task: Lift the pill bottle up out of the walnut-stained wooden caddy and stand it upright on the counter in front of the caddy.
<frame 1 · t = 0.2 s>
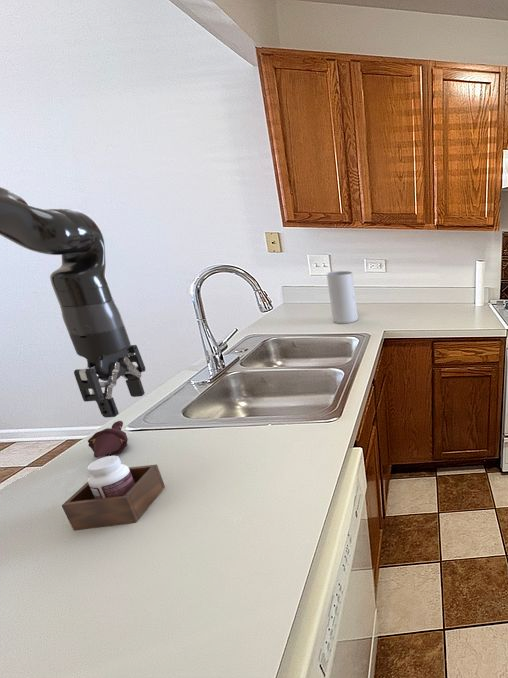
hand: (125, 405, 78), 21 cm above the table, tool pointing down, fingers open, 8 cm apart
caddy: (122, 507, 81), on the table
pill bottle: (122, 507, 81), resting in caddy
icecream: (114, 453, 99), on the table
cylinder vase: (345, 320, 210), on the table
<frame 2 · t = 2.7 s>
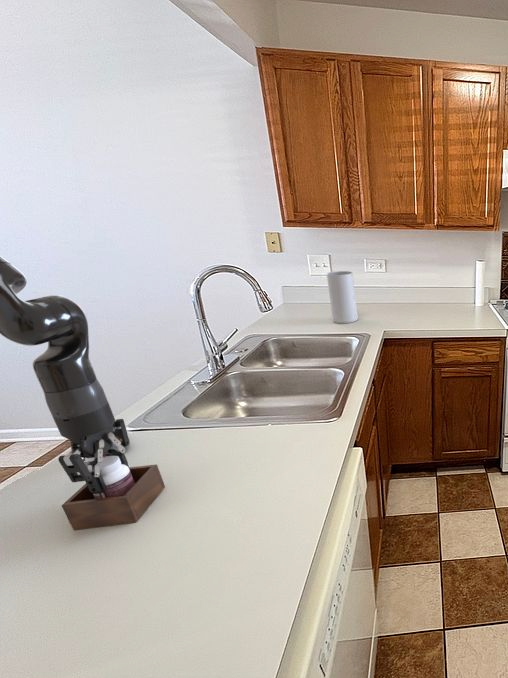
hand: (111, 480, 79), 7 cm above the table, tool pointing down, fingers closed on pill bottle, 6 cm apart
pill bottle: (122, 507, 81), resting in caddy, touching gripper
everything else where it was.
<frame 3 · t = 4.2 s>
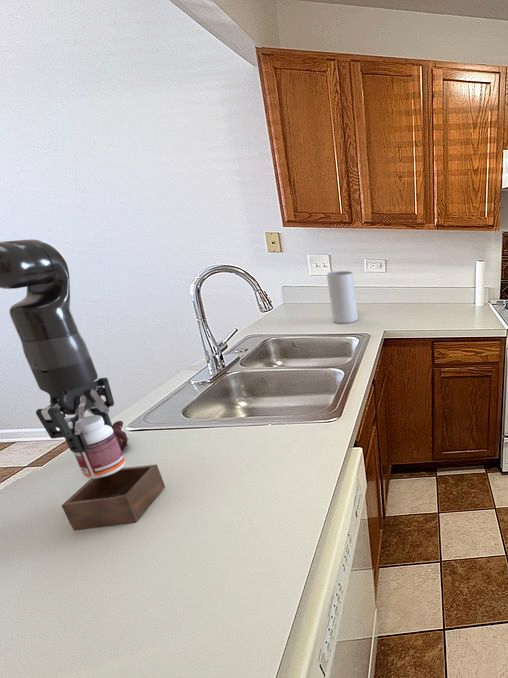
hand: (93, 440, 75), 16 cm above the table, tool pointing down, fingers closed on pill bottle, 6 cm apart
pill bottle: (106, 470, 78), point 9 cm above the table, touching gripper
everything else where it was.
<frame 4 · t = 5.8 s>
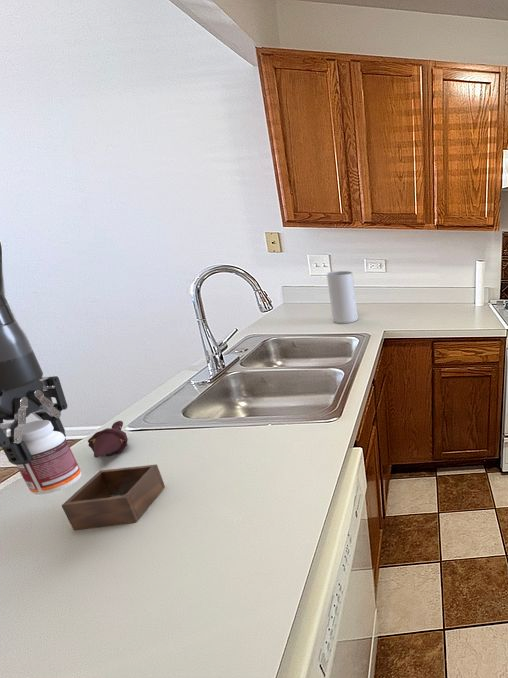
hand: (41, 450, 64), 21 cm above the table, tool pointing down, fingers closed on pill bottle, 6 cm apart
pill bottle: (57, 484, 67), point 14 cm above the table, touching gripper
everything else where it was.
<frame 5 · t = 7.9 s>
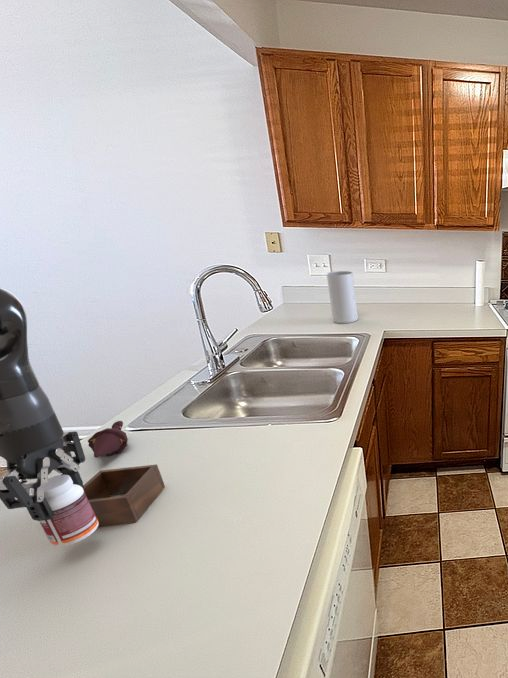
hand: (61, 504, 67), 10 cm above the table, tool pointing down, fingers closed on pill bottle, 6 cm apart
pill bottle: (76, 534, 70), point 4 cm above the table, touching gripper
everything else where it was.
when the fingers open (7 cm above the table, at t = 9.4 s): pill bottle stays where it is, on the table.
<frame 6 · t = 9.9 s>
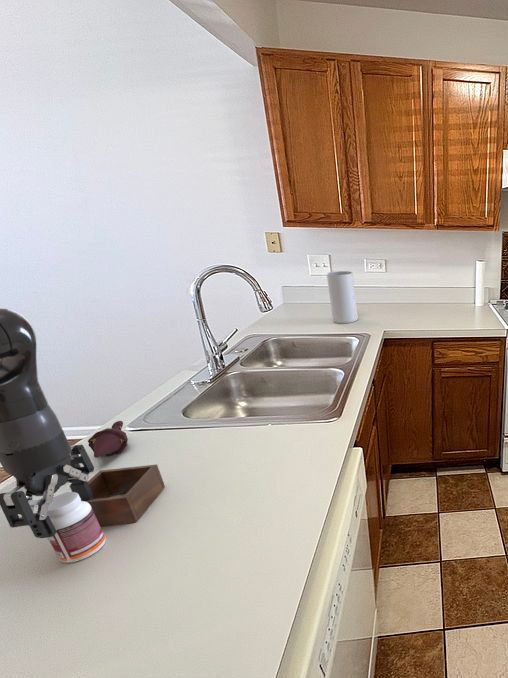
hand: (67, 517, 68), 8 cm above the table, tool pointing down, fingers open, 8 cm apart
pill bottle: (84, 550, 71), on the table
everything else where it was.
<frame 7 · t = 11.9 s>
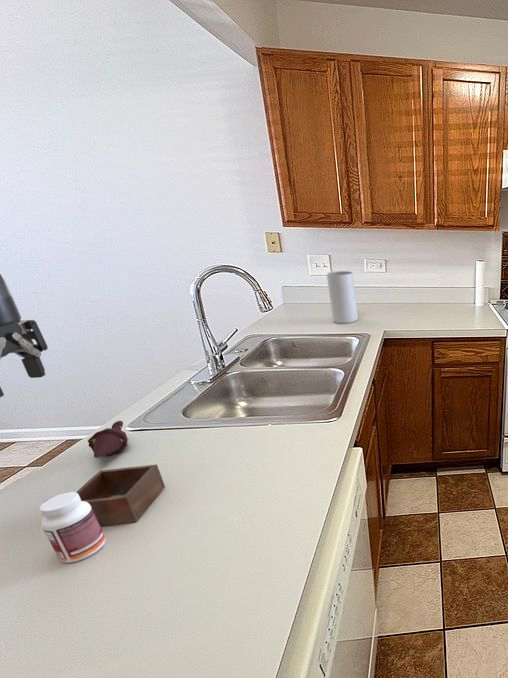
hand: (17, 386, 70), 28 cm above the table, tool pointing down, fingers open, 8 cm apart
nothing on the table moved.
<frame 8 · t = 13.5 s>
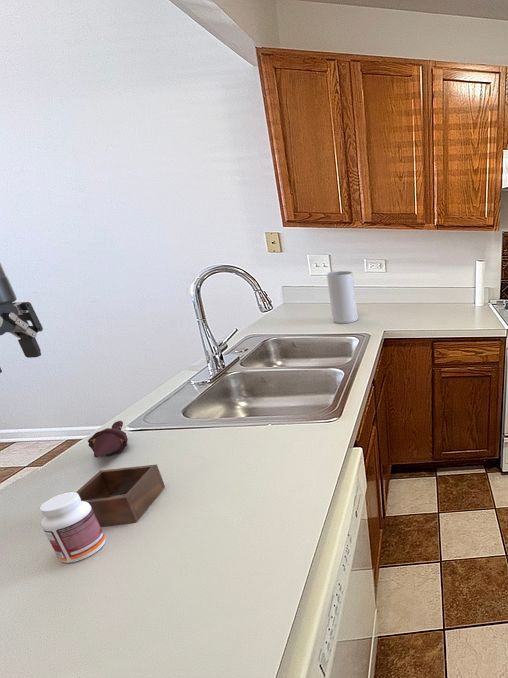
hand: (14, 365, 73), 30 cm above the table, tool pointing down, fingers open, 8 cm apart
nothing on the table moved.
at the end: pill bottle inside the target area (0.1 cm from its centre), on the table; pill bottle tilted 0°; pill bottle touching table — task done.
